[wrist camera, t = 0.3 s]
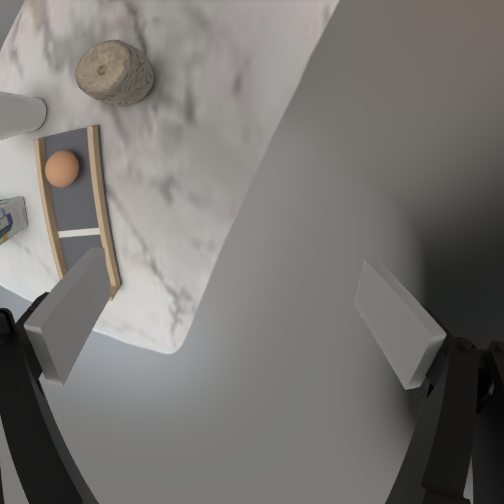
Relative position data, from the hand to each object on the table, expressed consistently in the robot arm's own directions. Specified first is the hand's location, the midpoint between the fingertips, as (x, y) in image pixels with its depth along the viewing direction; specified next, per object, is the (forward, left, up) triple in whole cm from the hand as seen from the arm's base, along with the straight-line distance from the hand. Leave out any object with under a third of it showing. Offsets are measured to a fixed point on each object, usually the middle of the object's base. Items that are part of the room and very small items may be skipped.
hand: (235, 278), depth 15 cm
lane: (+3, -23, -27) cm, 36 cm away
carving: (-15, -12, -28) cm, 34 cm away
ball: (-4, -23, -27) cm, 35 cm away
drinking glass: (-13, -29, -28) cm, 42 cm away
